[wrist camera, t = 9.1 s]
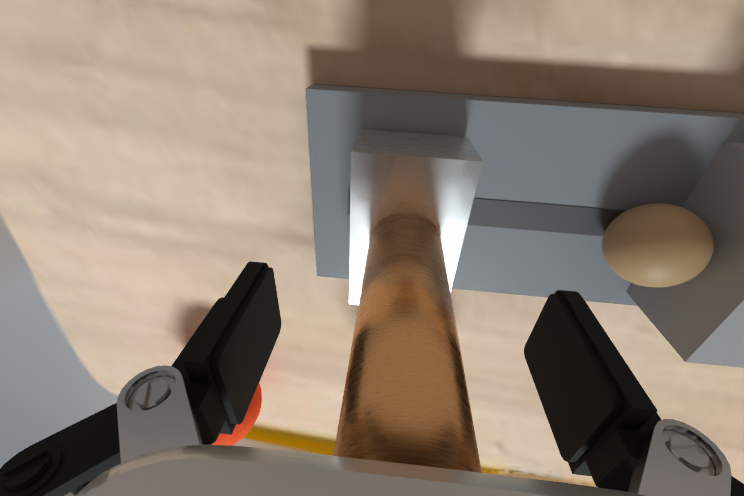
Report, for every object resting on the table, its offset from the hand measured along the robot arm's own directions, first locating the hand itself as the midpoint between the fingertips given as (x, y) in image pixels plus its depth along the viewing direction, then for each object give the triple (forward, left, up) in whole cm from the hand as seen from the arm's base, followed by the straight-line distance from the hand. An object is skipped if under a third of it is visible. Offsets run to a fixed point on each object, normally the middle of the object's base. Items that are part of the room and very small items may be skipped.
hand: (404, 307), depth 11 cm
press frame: (-6, 0, -9) cm, 11 cm away
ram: (0, 0, -7) cm, 7 cm away
